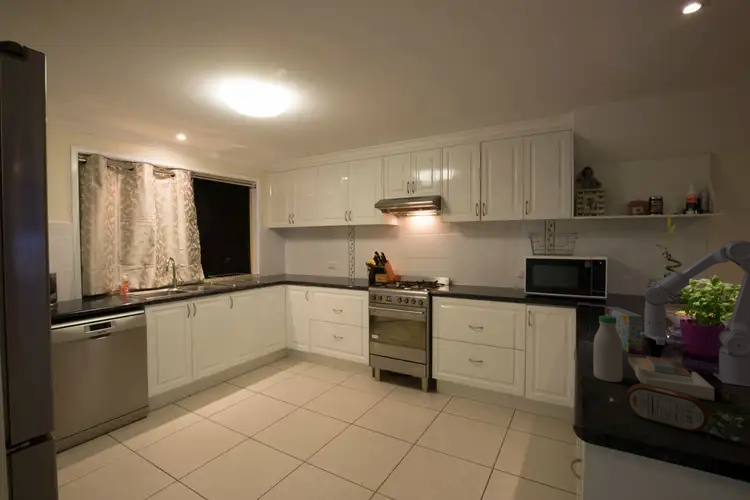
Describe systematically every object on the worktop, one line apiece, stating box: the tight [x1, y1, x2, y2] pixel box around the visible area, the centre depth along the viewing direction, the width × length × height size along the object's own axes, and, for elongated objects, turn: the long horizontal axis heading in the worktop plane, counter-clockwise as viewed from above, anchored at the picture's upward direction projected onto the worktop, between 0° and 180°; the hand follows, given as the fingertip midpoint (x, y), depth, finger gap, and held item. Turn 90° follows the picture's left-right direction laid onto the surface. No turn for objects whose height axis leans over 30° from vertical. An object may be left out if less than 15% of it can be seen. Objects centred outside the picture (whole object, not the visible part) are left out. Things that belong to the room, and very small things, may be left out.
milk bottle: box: [593, 315, 623, 383], centre depth 108 cm, size 8×8×20 cm
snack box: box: [605, 306, 644, 355], centre depth 142 cm, size 21×6×15 cm, turn 167°
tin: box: [626, 383, 710, 432], centre depth 81 cm, size 15×3×8 cm, turn 45°
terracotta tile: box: [646, 355, 669, 367], centre depth 114 cm, size 5×5×2 cm
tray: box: [635, 365, 715, 402], centre depth 101 cm, size 15×13×4 cm
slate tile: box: [651, 361, 675, 374], centre depth 109 cm, size 5×5×2 cm
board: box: [627, 355, 692, 377], centre depth 114 cm, size 14×14×2 cm
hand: (655, 360), depth 117 cm, fingers closed
